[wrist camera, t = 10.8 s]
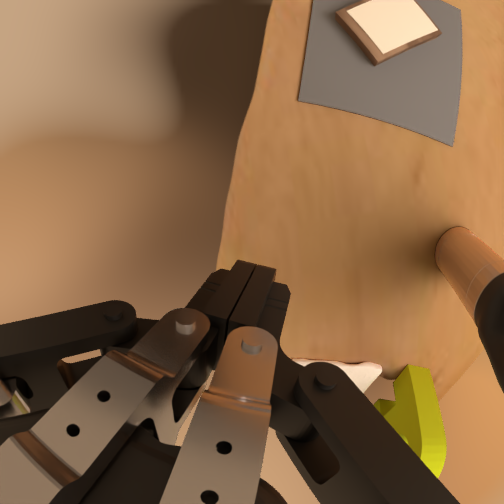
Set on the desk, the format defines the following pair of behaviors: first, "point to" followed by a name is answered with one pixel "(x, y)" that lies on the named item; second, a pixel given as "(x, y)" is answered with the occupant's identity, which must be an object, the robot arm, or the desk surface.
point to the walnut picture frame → (387, 27)
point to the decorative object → (417, 416)
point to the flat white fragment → (353, 371)
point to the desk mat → (387, 73)
